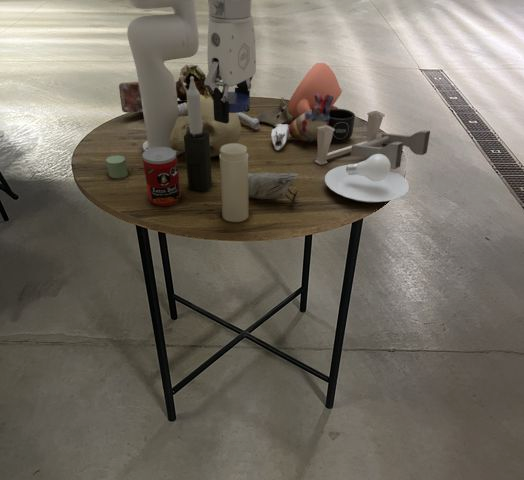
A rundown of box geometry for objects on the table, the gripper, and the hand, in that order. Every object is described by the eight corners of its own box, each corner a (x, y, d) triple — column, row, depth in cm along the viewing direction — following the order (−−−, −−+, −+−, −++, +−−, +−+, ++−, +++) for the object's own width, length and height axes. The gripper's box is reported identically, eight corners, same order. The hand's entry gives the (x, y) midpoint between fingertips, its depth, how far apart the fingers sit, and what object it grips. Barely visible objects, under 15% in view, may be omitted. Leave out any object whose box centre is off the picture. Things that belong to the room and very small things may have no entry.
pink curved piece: (271, 125, 149) (304, 153, 151) (297, 81, 135) (333, 113, 137) (303, 89, 162) (334, 116, 164) (330, 46, 148) (363, 75, 150)
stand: (111, 170, 127) (107, 155, 124) (129, 170, 127) (126, 155, 124) (107, 178, 123) (104, 163, 120) (126, 178, 123) (123, 163, 121)
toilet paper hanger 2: (351, 139, 127) (349, 162, 130) (398, 144, 120) (394, 169, 123) (386, 126, 141) (383, 147, 144) (430, 130, 134) (426, 152, 138)
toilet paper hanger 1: (311, 161, 133) (320, 166, 131) (315, 127, 126) (325, 132, 124) (369, 142, 143) (378, 147, 141) (376, 110, 136) (385, 114, 134)
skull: (168, 121, 120) (247, 118, 123) (162, 87, 129) (236, 85, 133) (172, 169, 131) (245, 165, 134) (167, 135, 140) (235, 132, 144)
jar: (222, 208, 113) (219, 142, 102) (248, 208, 113) (248, 142, 103) (221, 222, 109) (218, 154, 98) (249, 222, 109) (248, 154, 98)
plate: (346, 215, 111) (348, 206, 110) (310, 177, 125) (311, 169, 124) (423, 203, 117) (425, 194, 115) (380, 168, 131) (382, 160, 129)
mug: (354, 144, 141) (358, 119, 136) (324, 144, 141) (327, 119, 136) (346, 129, 150) (349, 104, 145) (317, 129, 149) (319, 105, 144)
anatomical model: (311, 131, 147) (330, 83, 135) (323, 150, 143) (344, 101, 131) (283, 130, 143) (301, 80, 131) (295, 149, 139) (314, 99, 127)
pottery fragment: (259, 127, 164) (252, 112, 162) (289, 110, 162) (282, 94, 159) (261, 139, 150) (253, 123, 147) (294, 121, 148) (286, 104, 145)
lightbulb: (341, 160, 117) (386, 157, 112) (349, 152, 121) (392, 149, 116) (343, 186, 121) (387, 184, 116) (351, 177, 125) (393, 175, 120)
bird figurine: (267, 124, 134) (274, 124, 143) (268, 151, 137) (275, 148, 146) (285, 124, 133) (290, 123, 142) (285, 150, 136) (291, 148, 145)
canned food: (151, 208, 113) (143, 162, 105) (147, 193, 118) (140, 148, 110) (183, 204, 114) (178, 159, 106) (178, 189, 120) (173, 145, 112)
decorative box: (169, 124, 166) (183, 126, 159) (113, 121, 155) (125, 123, 148) (169, 81, 160) (183, 81, 153) (110, 74, 149) (123, 74, 142)
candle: (213, 183, 122) (207, 74, 105) (206, 192, 119) (198, 81, 101) (194, 180, 123) (185, 72, 106) (187, 189, 120) (176, 78, 102)
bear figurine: (197, 54, 161) (172, 70, 168) (177, 72, 152) (151, 88, 159) (219, 94, 168) (194, 107, 175) (201, 113, 159) (175, 126, 167)
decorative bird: (235, 190, 120) (234, 161, 114) (298, 198, 117) (301, 169, 112) (229, 201, 116) (228, 171, 111) (294, 209, 114) (297, 179, 108)
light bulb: (180, 117, 159) (208, 109, 159) (181, 125, 154) (211, 116, 154) (173, 97, 154) (203, 88, 154) (175, 104, 150) (205, 95, 150)
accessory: (305, 130, 147) (305, 134, 148) (285, 137, 143) (285, 141, 143) (327, 137, 143) (327, 141, 143) (307, 145, 138) (307, 148, 139)
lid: (232, 115, 91) (231, 106, 90) (207, 105, 94) (206, 97, 93) (256, 107, 95) (256, 98, 94) (231, 97, 98) (231, 89, 97)
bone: (228, 111, 158) (218, 115, 157) (227, 95, 154) (217, 99, 153) (261, 135, 150) (252, 139, 149) (261, 119, 146) (251, 123, 144)
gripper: (219, 20, 77) (223, 134, 89) (273, 3, 87) (270, 107, 100) (182, 14, 79) (191, 125, 92) (238, -2, 90) (239, 100, 103)
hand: (232, 115), depth 96 cm, fingers closed on lid, 6 cm apart
